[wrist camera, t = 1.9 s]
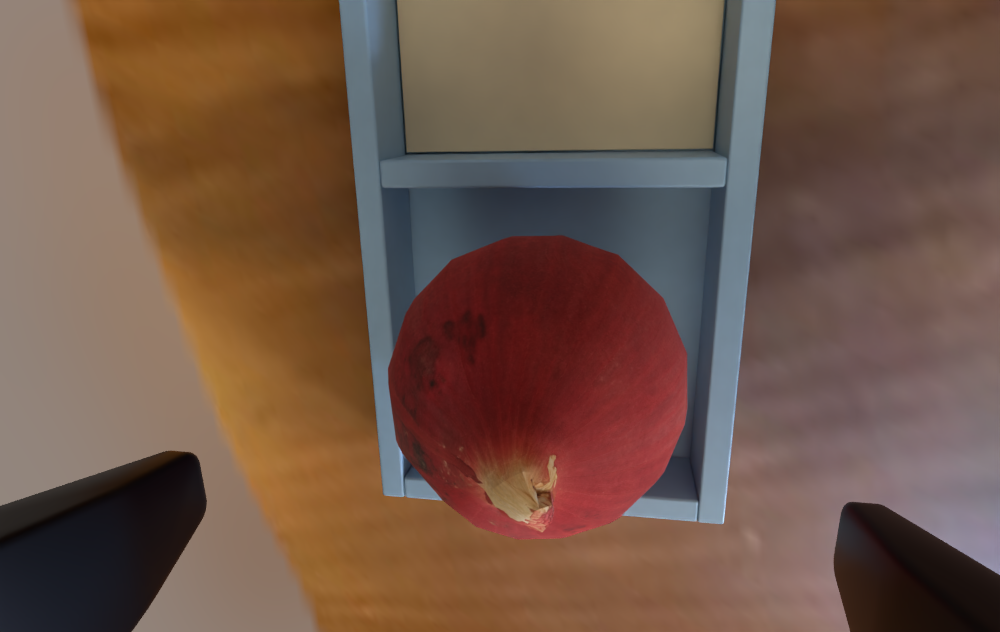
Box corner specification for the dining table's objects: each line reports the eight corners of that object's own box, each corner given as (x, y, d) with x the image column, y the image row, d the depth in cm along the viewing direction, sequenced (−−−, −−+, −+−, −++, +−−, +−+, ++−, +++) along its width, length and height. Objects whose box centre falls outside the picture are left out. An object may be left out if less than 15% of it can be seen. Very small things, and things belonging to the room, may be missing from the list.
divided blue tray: (411, 447, 19) (382, 496, 16) (363, -220, 14) (311, -287, 11) (709, 468, 17) (723, 525, 15) (774, -268, 12) (811, -355, 10)
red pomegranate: (455, 424, 18) (336, 658, 10) (430, 216, 16) (264, 312, 8) (672, 424, 17) (719, 685, 9) (670, 200, 15) (724, 296, 7)
